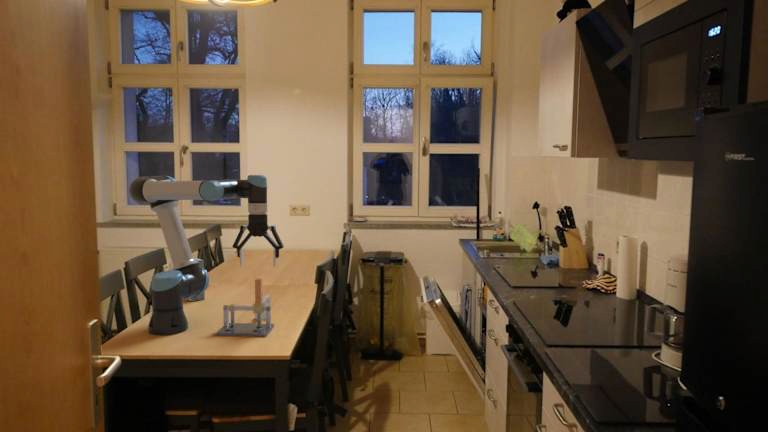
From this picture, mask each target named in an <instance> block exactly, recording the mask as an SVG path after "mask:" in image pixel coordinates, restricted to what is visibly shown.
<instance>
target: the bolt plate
mask: <svg viewBox="0 0 768 432" xmlns="http://www.w3.org/2000/svg"><path fill="white" fill-rule="evenodd" d="M234 323H235V326H234V327H231V322H229V326H228V327H224V325H223V326H222V327H220V328H219V330H217V331H216V332H215V336H218V337H219V336H220V337H221V336H222V337H223V336H224V337H257V338H258V337H260V338H261V337H265V338H266V337H268V335H269V334H270V333H271V331H273V329H274V327H275V324H274V323H271V327H270V328H266V323H261V326H258V323H249V322H247V323H243V322H242V323H241V322H239V323H238V322H234Z"/></svg>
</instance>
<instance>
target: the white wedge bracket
mask: <svg viewBox="0 0 768 432" xmlns="http://www.w3.org/2000/svg"><path fill="white" fill-rule="evenodd" d="M271 300H272V299H271V295H270V294H267V295H266V296H264V297H263V302H264V303H265V306H270V310H271V311H272V307H271V303H272V301H271ZM254 319H255V320H258V317H257V313H254ZM262 320H266V311H264V312H263V314H261V321H262Z"/></svg>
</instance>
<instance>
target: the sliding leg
mask: <svg viewBox="0 0 768 432" xmlns="http://www.w3.org/2000/svg"><path fill="white" fill-rule="evenodd" d="M263 291H264V289H263V278H255V280H254V296H255V297H254V299H255V300H254V303H253V305H252V306H253V310H254V311H253V314H255V313H257V317H258V319H257V324H258V326H261V324H262V320H261V314H263V312H264V311H263V306H265V303H264V302H263V299H264V296H263Z"/></svg>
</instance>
